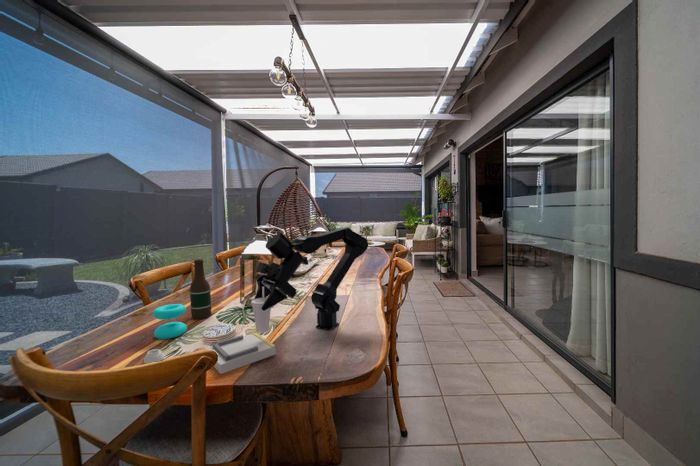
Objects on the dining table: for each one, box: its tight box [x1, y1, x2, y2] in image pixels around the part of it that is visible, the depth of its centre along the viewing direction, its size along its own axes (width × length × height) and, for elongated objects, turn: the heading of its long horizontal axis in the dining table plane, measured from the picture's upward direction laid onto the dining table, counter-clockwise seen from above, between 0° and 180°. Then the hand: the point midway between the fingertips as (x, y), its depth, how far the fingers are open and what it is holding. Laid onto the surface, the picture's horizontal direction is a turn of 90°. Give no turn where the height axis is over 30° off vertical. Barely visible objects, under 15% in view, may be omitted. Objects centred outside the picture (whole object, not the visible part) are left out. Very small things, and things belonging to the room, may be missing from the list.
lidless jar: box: [143, 348, 165, 365], centre depth 87 cm, size 5×3×5 cm
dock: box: [204, 331, 277, 375], centre depth 89 cm, size 16×14×4 cm
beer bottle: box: [189, 259, 212, 320], centre depth 123 cm, size 8×8×24 cm
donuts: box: [152, 303, 188, 340], centre depth 105 cm, size 10×10×10 cm
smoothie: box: [250, 286, 272, 334], centre depth 93 cm, size 6×6×14 cm
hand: (257, 307), depth 92 cm, fingers closed on smoothie, 6 cm apart
